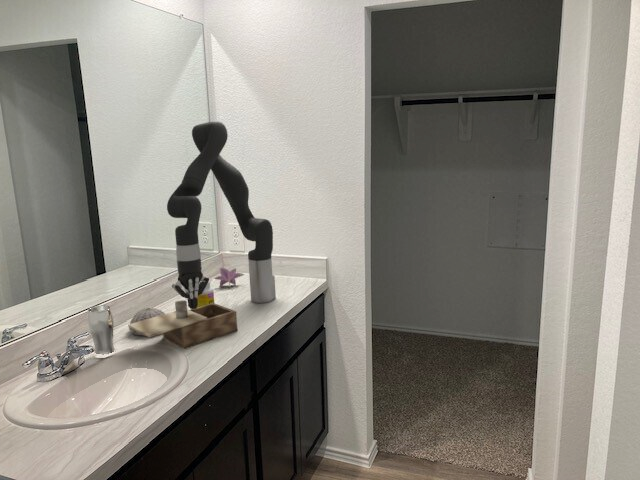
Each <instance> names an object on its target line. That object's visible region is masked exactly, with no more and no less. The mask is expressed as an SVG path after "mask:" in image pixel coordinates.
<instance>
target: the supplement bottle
mask: <svg viewBox="0 0 640 480" xmlns="http://www.w3.org/2000/svg"><path fill="white" fill-rule="evenodd" d="M199 284H200V283H199ZM197 300H198V306H197V308H198V307H201V306H205V305H208V304H212V303H215V293H214V288H213V287H211V281H210V280H209V282H208V284H207V285H206V287H205V289H204V291H203V293H202V294H201V295H199V296H198V297H197Z"/></svg>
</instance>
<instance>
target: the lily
mask: <svg viewBox="0 0 640 480" xmlns="http://www.w3.org/2000/svg"><path fill="white" fill-rule="evenodd" d="M219 272H220V275H218V276H216V277H214V278H213V279H214V280H218V281H219V286H220V285H222V286H223V285H225V284H227V283H228V284H229V288H230V289H231V290H232V288H231V284H232V285H234V284H237V282H236V280H237V279H239V278H241V277H243V276H244V275H245V274H244V273H242V272H237V268H233V269H231V270H229V269H227V268H224V267H219ZM230 289H229V290H230Z"/></svg>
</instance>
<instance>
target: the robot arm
mask: <svg viewBox="0 0 640 480" xmlns="http://www.w3.org/2000/svg"><path fill="white" fill-rule="evenodd" d="M228 135H229V133H228V129H227V127H226V125H225V124H224V123H223V122H222V121H219V120H212V121H207V122H203V123H200V124H196V125H194V126H193V128H192V131H191V137H192V140H193V142H194V145H195V147H196V148H197V151H199V154H198V155H197V157H195V159H193V160H192V162H191V163H190V164H189V165H188V167H187V168H186V171H185V173H184V176H183V177H182V180H181V183H180V184H179V185H178V186H177V187H176V188H175V190H174V192H173V193H172V194H171V195H170V197H169V198H168V201H167V202H166V203H167V205H166V210H167V213H168V215H169V216H170V217H171V218H173V219H186V220H187V221H186V223H185V224H182V225H178V226H176V227H175V230H174V231H175V234H174V235H175V244H176V245H175V248H176V250H175V254H176V263H177V272H178V277H177V281H176V282H175V284H174V283H172V285H171V287H172V288H173V289H174V291H175V292H176V293H178V295H180V296H181V297H182V298H184V299H187V308H189V310H191V309H196V308H197V306H198V300H197V297H198V296H199V295H201V294H202V293H203V291H204V289H205V287H206V285H207V284H208V282H209V281H210V278H209V277H205V276H204V274H203V271H202V258H201V257H202V254H201V249H200V248H201V247H200V242H199V224H200V218H201V212H202V202H201V200H200V199H199V197H198V196H200V195H201V194H202V192H203V190H204V187H205V184H206V181H207V178H208V176H209V174H210V171H211V172H212V173H213V176H214V177H215V179H216V181H217V182H218V183H217V184H218V185H219V188H220V189H221V191H222V193H223V195H224V197H225V198H226V200H227V202H228V204H229V206H230V208H231V211H232V212H233V213H234V216H235V218H236V221H237V223H238V226H239V229H240V231H241V234H242V235H243V237H244V238H245V239H246V240H248V241H250V242H255V248H254V249H252V250H250V251H248V253H247V258H248V259H247V260H248V273H249V275H248V276H249V288H250V289H249V291H250V301H251V302H252V303H257V304H258V303H259V304H260V303H261V304H262V303H263V304H264V303H269V302H272V301H273V300H275V299H276V298H277V297H276V296H277V295H276V294H277V293H276V280H275V279H276V277H275V275H274V274H273V261H272V260H273V258H272V253H273V249H274V240H273V238H274V236H273V235H274V232H273V230H274V229H273V225H272V223H271V221H270V220H268V219H266V218H258V217H255V216H254V215H253V213H252V211H251V209H250V206H249V194H250V193H249V191H250V190H249V187H248V184H247V182H246V180H245V178H244V176H243V174H242V172H241V171H240V170H238V169H237V168H236V167H235V166H234V165H232V164H231V163H230V162H228V161H227V160H226V159H225V158H223V156H221V152H222V151H223V149H224V147H226V144H227V141H228ZM199 283H200V284H199ZM182 287H183V289H182Z"/></svg>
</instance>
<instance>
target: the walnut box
mask: <svg viewBox="0 0 640 480" xmlns="http://www.w3.org/2000/svg"><path fill="white" fill-rule="evenodd" d="M189 310H190V311H192V312H195V313H197V314H200V315H202V316H204V317H207V320H203V321H200V322H197V323H194V324H190V325H187V326H184V327H181V328H177V329H174V330H171V331H168V332H164V333H162V335H163V337H162V338H163V339H165V340H167V341H169V342H171V343H173V344H175V345H176V346H178V347H180V348H183V349H185V350H186V349H189V348H191V347H194V346H197V345H200V344H203V343H206V342H209V341H212V340H215V339H218V338H220V337H223V336H227V335H230V334H232V333H236V332H238V319H237V311H236V310H234V309H231V308H228V307H226V306H223V305H220V304H217V303H215V302H214V303H212V304H208V305H205V306H201V307H198V308H196V309H189Z"/></svg>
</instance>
